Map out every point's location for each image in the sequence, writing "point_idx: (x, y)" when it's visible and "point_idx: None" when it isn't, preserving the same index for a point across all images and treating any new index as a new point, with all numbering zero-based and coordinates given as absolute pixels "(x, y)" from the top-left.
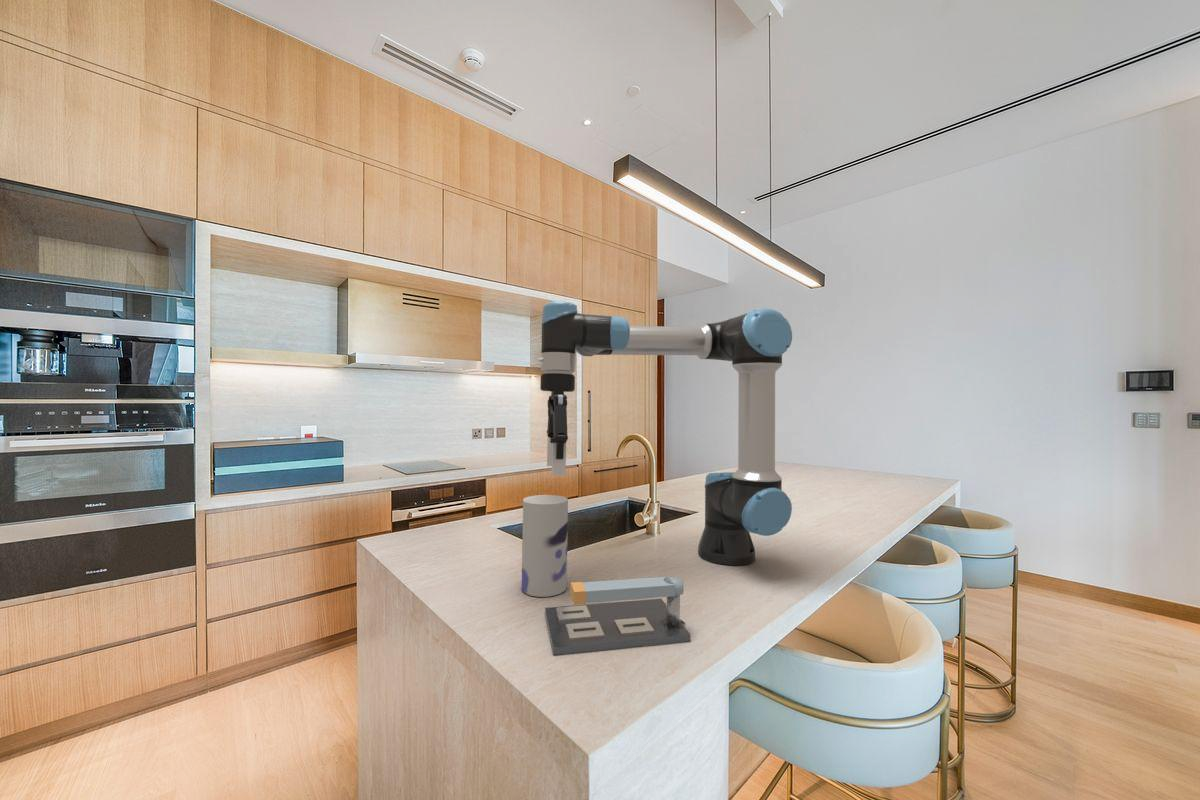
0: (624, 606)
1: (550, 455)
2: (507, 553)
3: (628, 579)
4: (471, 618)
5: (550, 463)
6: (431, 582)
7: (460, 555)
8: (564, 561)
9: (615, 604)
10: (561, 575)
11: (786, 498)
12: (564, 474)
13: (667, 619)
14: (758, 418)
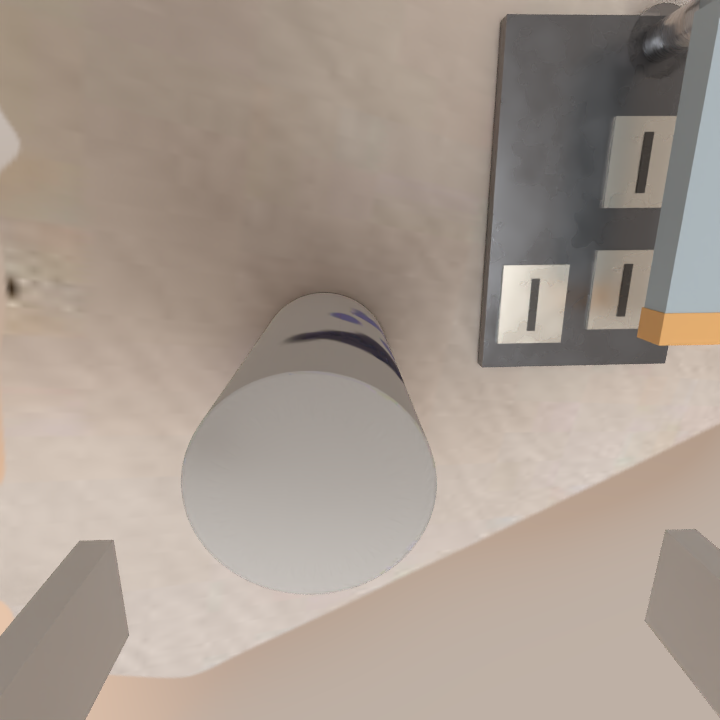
0: (528, 156)
1: (63, 718)
2: (22, 449)
3: (696, 157)
4: (460, 509)
5: (114, 632)
6: (251, 607)
7: (47, 572)
8: (365, 321)
9: (510, 179)
10: (375, 323)
11: None
12: (698, 540)
13: (669, 57)
14: None
